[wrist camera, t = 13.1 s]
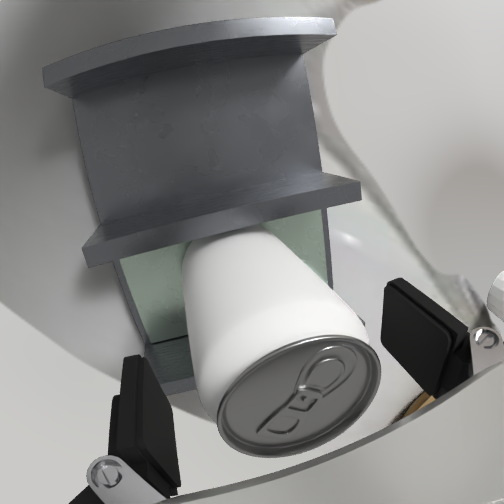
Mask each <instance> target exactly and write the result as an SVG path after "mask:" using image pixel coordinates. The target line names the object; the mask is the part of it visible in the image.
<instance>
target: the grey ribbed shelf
mask: <svg viewBox="0 0 504 504" xmlns="http://www.w3.org/2000/svg"><path fill="white" fill-rule="evenodd" d="M336 35H337V33H336V29H335V24H334V20H333V18H321V17H263V18H246V19H234V20H224V21H215V22H207V23H200V24H193V25H187V26H181V27H176V28H171V29H165V30H161V31H156V32H151V33H147V34H143V35H139V36H135V37H131V38H127V39H123V40H120V41H116V42H113V43H110V44H106V45H103V46H100V47H97V48H94V49H91V50H88V51H85V52H82V53H79V54H76V55H74V56H71V57H68V58H66V59H63V60H61V61H58V62H56V63H53V64H51V65H48V66H46V67H44V68H42V69H43V79H44V87H46V88H48V89H50V90H53V91H55V92H58V93H60V94H63V95H65V96H67V97H70V98H72V99H73V105H74V111H75V117H76V123H77V128H78V133H79V138H80V143H81V148H82V153H83V157H84V162H85V166H86V170H87V174H88V178H89V182H90V186H91V190H92V194H93V198H94V202H95V205H96V209H97V212H98V216H99V219H100V223H101V225H100V226H99V227H98V228H97V230H96V231H95V232H94V233H93V235H92V236H91V237H90V238H89V240H88V241H87V242H86V243H85V245H84V246H83V247H82V251H83V254H84V256H85V259H86V262H87V265H88V268H90V267H93V266H97V265H101V264H104V263H108V262H112V261H113V263H114V266H115V269H116V272H117V275H118V278H119V280H120V283H121V286H122V289H123V291H124V294H125V297H126V299H127V302H128V304H129V307H130V309H131V312H132V315H133V317H134V319H135V322H136V324H137V327H138V329H139V332H140V334H141V336H142V339H143V341H144V343H145V352H144V357H146V358H147V360H148V362H149V364H150V366H151V368H152V370H153V372H154V374H155V376H156V378H157V380H158V382H159V384H160V386H161V388H162V390H163V392H164V394H165V396H167V395H171V394H176V393H181V392H185V391H189V390H194V389H197V386H196V381H195V376H194V370H193V364H192V357H191V350H190V343H189V336H188V328H187V320H186V312H185V303H184V294H183V283H182V264H183V259H184V256H185V253H186V251H187V249H188V247H189V245H190V244H191V242H192V241H193V240H195V239H199V238H203V237H207V236H211V235H215V234H219V233H223V232H227V231H231V230H235V229H239V228H243V227H247V226H252V225H256V224H258V225H261V226H262V227H264V228H266V229H267V230H269V231H270V232H271V233H272V234H274V235H275V236H276V237H277V238H278V239H279V240H280V241H281V242H282V243H284V244H285V245H286V246H287V247H288V248H289V249H290V250H291V251H292V252H293V253H294V254H295V255H296V256H298V257H299V258H300V259H301V260H302V261H303V262H304V263H305V264H306V265H307V266H308V267H309V268H310V269H311V270H312V271H313V272H314V273H316V274H317V275H318V276H319V277H320V278H321V279H322V280H323V281H324V282H325V283H326V284H327V285H328V286H329V287H330V288H331V289H332V290H333V278H332V264H331V252H330V240H329V229H328V219H327V209H326V208H328V207H333V206H337V205H342V204H346V203H351V202H355V201H360V200H362V197H361V185H360V181H357V180H353V179H349V178H345V177H341V176H337V175H333V174H329V173H324V172H322V167H321V160H320V152H319V145H318V139H317V132H316V126H315V119H314V113H313V107H312V101H311V96H310V90H309V85H308V79H307V74H306V69H305V64H304V59H303V54H304V53H306V52H307V51H309V50H311V49H312V48H314V47H316V46H318V45H320V44H321V43H323V42H325V41H327V40H329V39H330V38H332V37H334V36H336ZM356 315H357V314H356ZM357 316H358V315H357ZM358 317H359V316H358ZM359 319H360V320H361V322H362V323H363V325H364V327H365V322H364V321H363V320H362V319H361V318H360V317H359Z"/></svg>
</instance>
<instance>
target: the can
mask: <svg viewBox="0 0 504 504" xmlns="http://www.w3.org/2000/svg"><path fill="white" fill-rule="evenodd" d="M182 283H183V294H184V303H185V312H186V320H187V328H188V336H189V343H190V350H191V357H192V364H193V370H194V376H195V381H196V386H197V391H198V394H199V398H200V400H201V403H202V405H203V407H204V409H205V411H206V412H207V413H208V415H209V416H210V417H211V418H212V419H213V420H214V421H215V422H216V423H217V427H218V431H219V433H220V435H221V437H222V438H223V440H224V441H225V442H226V443H227V444H228V445H229V446H230V447H232V448H233V449H235V450H237V451H239V452H241V453H243V454H246V455H250V456H255V457H262V458H277V457H285V456H292V455H296V454H300V453H303V452H306V451H309V450H312V449H314V448H317V447H319V446H321V445H323V444H325V443H327V442H329V441H331V440H332V439H334V438H336V437H337V436H339V435H340V434H342V433H343V432H344V431H346V430H347V429H348V428H349V427H350V426H352V425H353V424H354V423H355V422H356V421H357V420H358V419H359V418H360V417H361V416H362V414H363V413H364V412H365V411H366V409H367V408H368V407H369V405H370V404H371V402H372V400H373V399H374V397H375V395H376V393H377V390H378V387H379V384H380V379H381V365H380V361H379V358H378V356H377V354H376V352H375V351H374V350H373V349H372V347H370V344H369V339H368V335H367V332H366V329H365V327H364V325H363V323H362V322H361V320H360V319H359V317H358V316H357V315H356V313H355V312H354V311H353V310H352V309H351V308H350V307H349V306H348V305H347V304H346V303H345V302H344V301H343V300H342V299H341V298H340V297H339V296H338V295H337V294H336V293H335V292H334V291H333V290H332V289H331V288H330V287H329V286H328V285H327V284H326V283H325V282H324V281H323V280H322V279H321V278H320V277H319V276H318V275H317V274H316V273H314V272H313V271H312V270H311V269H310V268H309V267H308V266H307V265H306V264H305V263H304V262H303V261H302V260H301V259H300V258H299V257H298V256H296V255H295V254H294V253H293V252H292V251H291V250H290V249H289V248H288V247H287V246H286V245H285V244H284V243H282V242H281V241H280V240H279V239H278V238H277V237H276V236H275V235H274V234H272V233H271V232H270V231H269V230H267V229H266V228H264V227H262V226H261V225H258V224H256V225H252V226H247V227H243V228H239V229H235V230H231V231H227V232H223V233H219V234H215V235H211V236H207V237H203V238H199V239H195V240H193V241H192V242H191V244H190V245H189V247H188V249H187V251H186V253H185V256H184V259H183V264H182Z"/></svg>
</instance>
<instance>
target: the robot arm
mask: <svg viewBox="0 0 504 504" xmlns="http://www.w3.org/2000/svg"><path fill="white" fill-rule="evenodd" d="M467 331H468V327H467V326H466V325H464V324H463V323H462V322H460V321H459V320H458V319H457V318H455V317H454V316H453V315H451V314H450V313H449V312H448V311H446V310H445V309H444V308H442V307H441V306H440V305H438V304H437V303H436V302H434V301H433V300H432V299H430V298H429V297H428V296H426V295H425V294H424V293H422V292H421V291H419V290H418V289H417V288H415V287H414V286H413V285H411V284H410V283H408V282H407V281H406V280H404V279H403V278H397V279H394V280H392V281H389V282H388V283H387V286H386V287H385V288H384V301H383V315H382V327H381V343H382V345H383V346H384V347H385V348H386V349H387V351H388V352H389V353H390V354H391V355H392V356H393V357H394V358H395V359H396V360H397V361H398V362H399V363H400V365H401V366H402V367H403V368H404V369H405V370H406V371H407V372H408V373H409V374H410V375H411V377H412V378H413V379H414V380H415V381H416V382H417V383H418V384H419V385H420V387H421V388H422V389H423V390H424V391H425V392H426V393H427V394H428V395H429V396H433V397H434V398H435V399H436V400H434V401H433V402H431V403H429V404H428V405H426V406H424V407H423V408H421V409H419V410H417V411H416V412H414V413H412V414H410V415H409V416H407V417H405V418H403V419H401V420H399V421H397V422H395V423H393V424H392V425H390V426H388V427H386V428H384V429H382V430H380V431H378V432H376V433H374V434H371V435H369V436H367V437H365V438H363V439H361V440H359V441H356V442H354V443H352V444H349V445H347V446H345V447H342V448H340V449H338V450H335V451H333V452H330V453H328V454H325V455H323V456H320V457H317V458H315V459H312V460H310V461H307V462H304V463H301V464H298V465H296V466H292V467H289V468H286V469H283V470H280V471H277V472H274V473H270V474H267V475H263V476H260V477H256V478H253V479H249V480H245V481H242V482H238V483H234V484H230V485H226V486H221V487H218V488H213V489H208V490H203V491H199V492H195V493H190V494H185V495H181V496H177V497H174V498H170V496H175V495H178V493H177V487H181V480H180V472H179V465H178V458H177V450H176V441H175V431H174V422H173V412H172V408H171V405H170V403H169V401H168V399H167V397H166V396H165V394H164V392H163V390H162V388H161V386H160V384H159V382H158V380H157V378H156V376H155V374H154V372H153V370H152V368H151V366H150V364H149V362H148V360H147V358H146V357H143V358H142V357H141V356H140V355H139V354H138V355H133V356H129V357H125V358H124V361H123V369H122V378H121V388H120V395H115V396H114V397H113V400H112V409H111V419H110V430H109V444H108V445H109V446H108V455H106V456H103V457H99V458H98V459H96V460H94V461H93V463H91V465H90V466H89V468H88V470H87V475H86V476H87V482H88V484H89V485H88V486H87V487H86V488H85V489H84V490H83V491H82V492H81V493H80V494H79V495H77V496H76V497H75V499H73V500H72V501H71V502H70V503H69V504H504V342H503V340H502V337H501V335H500V334H499V333H498V332H497V331H496V330H494V329H492V328H489V327H478V328H475V329H474V330H473V331H472V332H471V334H470V333H468V332H467Z"/></svg>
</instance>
